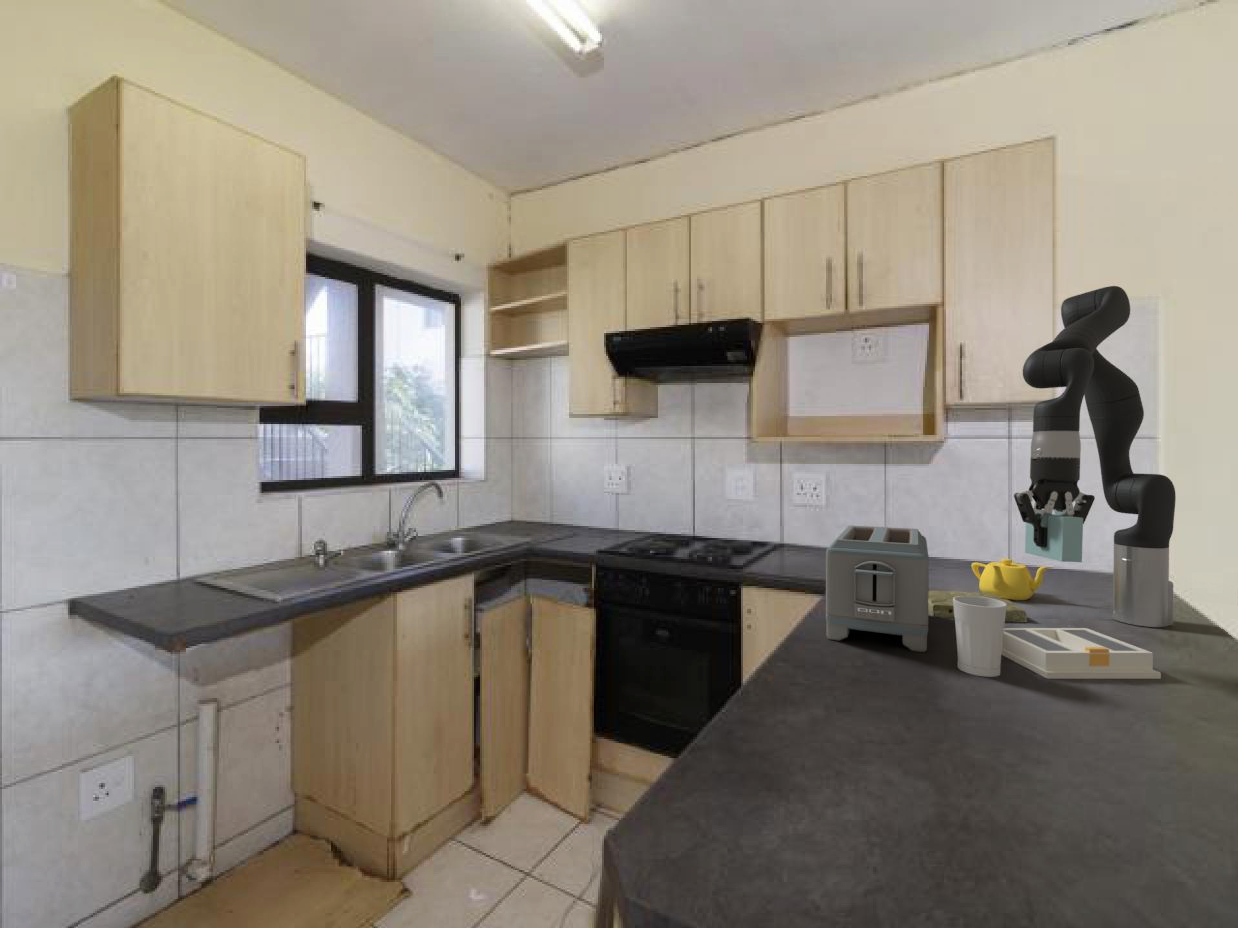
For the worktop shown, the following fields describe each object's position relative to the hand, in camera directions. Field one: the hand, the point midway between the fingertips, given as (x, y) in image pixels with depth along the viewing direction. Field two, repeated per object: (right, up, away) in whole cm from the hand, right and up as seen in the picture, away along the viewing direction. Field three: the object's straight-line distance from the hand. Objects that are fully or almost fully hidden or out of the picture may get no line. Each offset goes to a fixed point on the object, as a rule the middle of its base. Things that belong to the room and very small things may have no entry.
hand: (1052, 546), depth 110 cm
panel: (0, -2, 0) cm, 2 cm away
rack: (-1, -20, -5) cm, 21 cm away
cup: (-19, -20, -8) cm, 29 cm away
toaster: (-26, -20, +16) cm, 36 cm away
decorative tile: (+2, -20, +31) cm, 37 cm away
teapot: (+21, -20, +43) cm, 52 cm away
